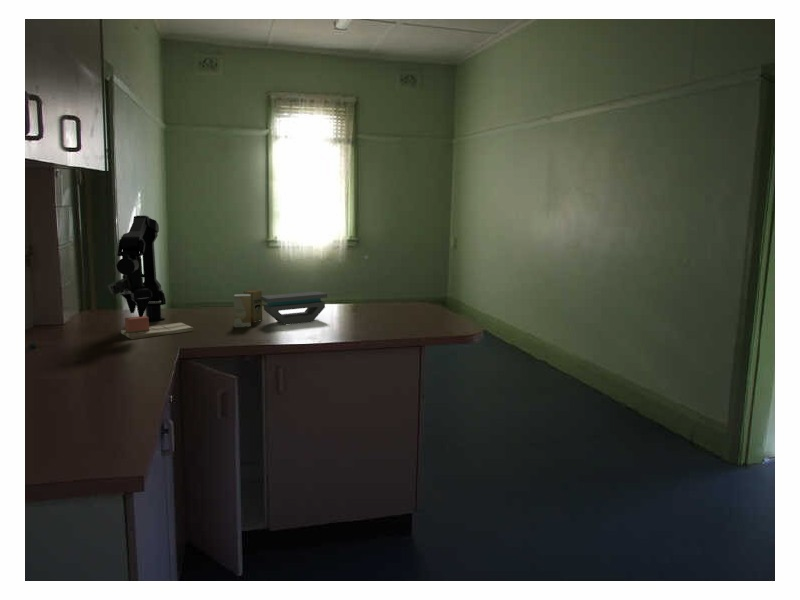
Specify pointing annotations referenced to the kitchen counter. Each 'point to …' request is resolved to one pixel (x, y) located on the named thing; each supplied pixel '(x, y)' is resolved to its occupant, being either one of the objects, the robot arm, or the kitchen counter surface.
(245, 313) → the skincare box
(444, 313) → the kitchen counter surface
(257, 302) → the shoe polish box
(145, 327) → the block
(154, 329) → the cream flat rectangular board
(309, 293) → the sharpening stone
